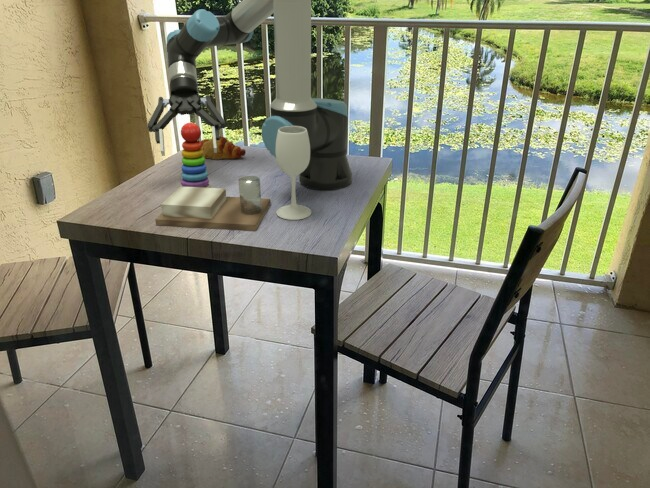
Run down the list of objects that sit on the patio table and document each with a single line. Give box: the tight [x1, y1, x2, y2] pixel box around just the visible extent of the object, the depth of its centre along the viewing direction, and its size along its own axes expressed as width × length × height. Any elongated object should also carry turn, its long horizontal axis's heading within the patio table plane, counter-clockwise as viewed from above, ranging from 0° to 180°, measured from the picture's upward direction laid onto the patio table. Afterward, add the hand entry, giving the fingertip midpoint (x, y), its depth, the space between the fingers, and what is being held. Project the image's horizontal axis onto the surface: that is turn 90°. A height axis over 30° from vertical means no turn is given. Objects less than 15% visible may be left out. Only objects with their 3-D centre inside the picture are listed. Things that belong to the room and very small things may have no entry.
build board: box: [155, 185, 272, 232], centre depth 125 cm, size 24×16×4 cm, turn 83°
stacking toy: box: [180, 122, 212, 188], centre depth 135 cm, size 8×8×19 cm
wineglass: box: [275, 126, 312, 221], centre depth 122 cm, size 9×9×21 cm
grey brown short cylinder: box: [238, 175, 262, 215], centre depth 123 cm, size 5×5×8 cm
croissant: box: [199, 135, 247, 160], centre depth 167 cm, size 21×10×8 cm, turn 70°
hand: (189, 152), depth 135 cm, fingers open, 13 cm apart
